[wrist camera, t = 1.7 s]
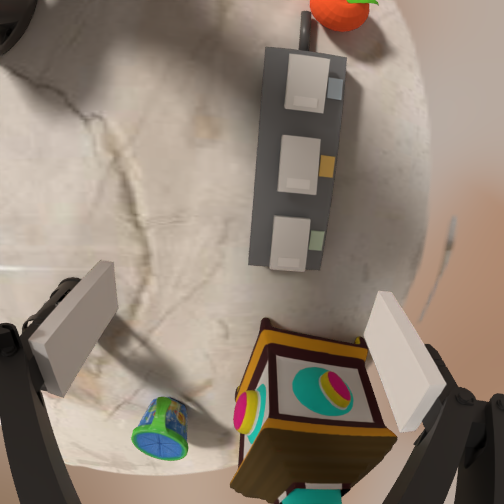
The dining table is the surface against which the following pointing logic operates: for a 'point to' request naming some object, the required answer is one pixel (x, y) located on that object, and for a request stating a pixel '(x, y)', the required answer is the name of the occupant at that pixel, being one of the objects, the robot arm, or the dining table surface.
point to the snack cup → (163, 430)
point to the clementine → (341, 13)
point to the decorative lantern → (306, 419)
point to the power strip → (269, 146)
